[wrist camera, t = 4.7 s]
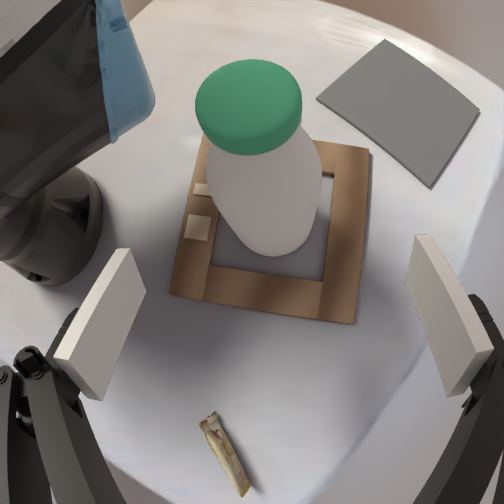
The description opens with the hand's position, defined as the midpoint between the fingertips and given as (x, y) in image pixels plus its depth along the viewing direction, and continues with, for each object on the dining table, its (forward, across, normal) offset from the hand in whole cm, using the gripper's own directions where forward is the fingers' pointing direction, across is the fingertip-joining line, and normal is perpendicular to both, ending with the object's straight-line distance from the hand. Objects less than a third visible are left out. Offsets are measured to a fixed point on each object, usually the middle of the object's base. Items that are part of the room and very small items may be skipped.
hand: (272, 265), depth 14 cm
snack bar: (0, -6, -24) cm, 25 cm away
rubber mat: (+26, +16, +3) cm, 31 cm away
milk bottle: (+17, -1, -7) cm, 18 cm away
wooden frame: (+16, -1, -7) cm, 18 cm away
